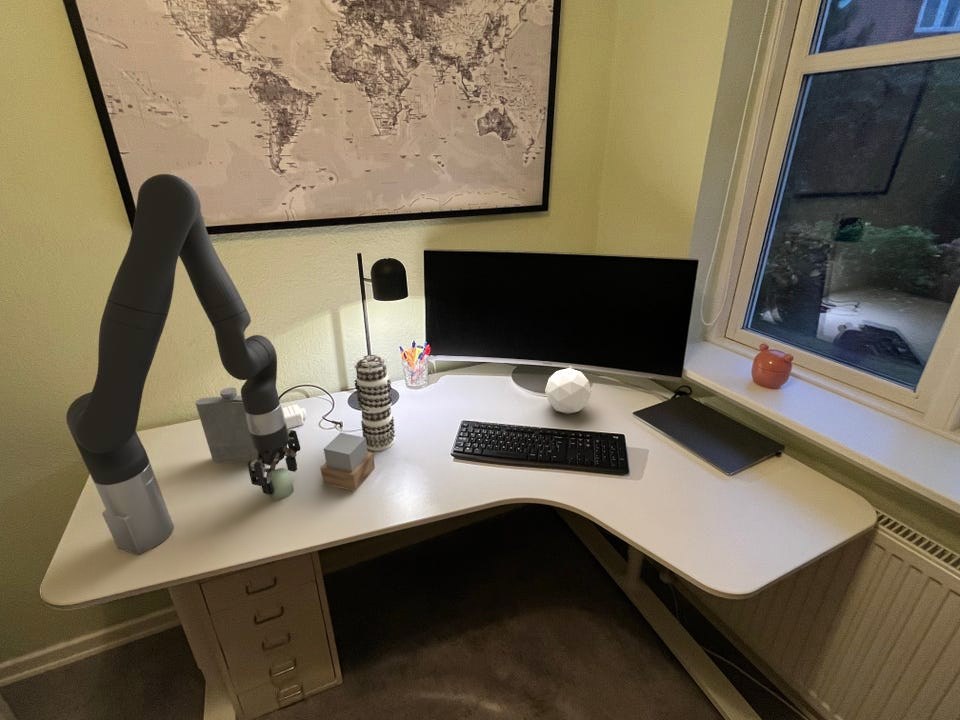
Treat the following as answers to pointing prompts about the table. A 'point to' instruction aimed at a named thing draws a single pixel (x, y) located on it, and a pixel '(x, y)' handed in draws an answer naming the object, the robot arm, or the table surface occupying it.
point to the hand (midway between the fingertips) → (281, 481)
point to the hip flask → (226, 427)
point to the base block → (349, 474)
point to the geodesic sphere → (568, 390)
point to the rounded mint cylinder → (282, 483)
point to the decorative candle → (375, 402)
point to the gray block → (345, 452)
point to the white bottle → (294, 416)
